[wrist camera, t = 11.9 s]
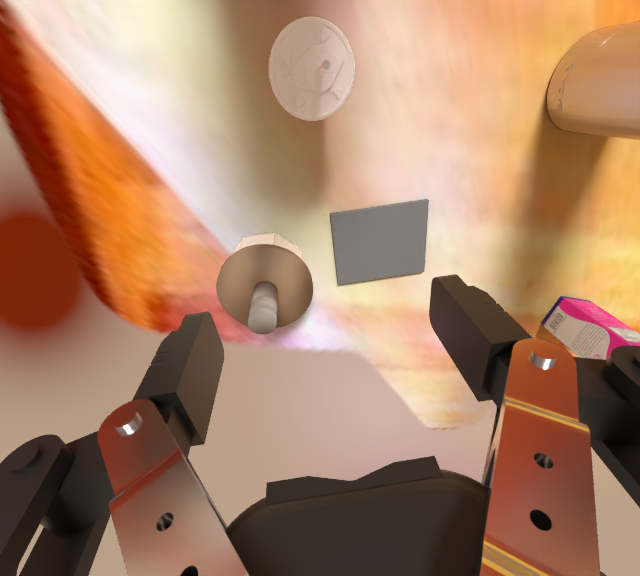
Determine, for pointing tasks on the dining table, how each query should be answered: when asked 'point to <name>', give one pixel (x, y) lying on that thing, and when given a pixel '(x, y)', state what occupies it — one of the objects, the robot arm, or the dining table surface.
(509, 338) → the robot arm
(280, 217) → the dining table surface
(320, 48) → the smoothie
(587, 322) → the supplement box
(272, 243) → the bowl
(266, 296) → the lid
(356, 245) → the mat
